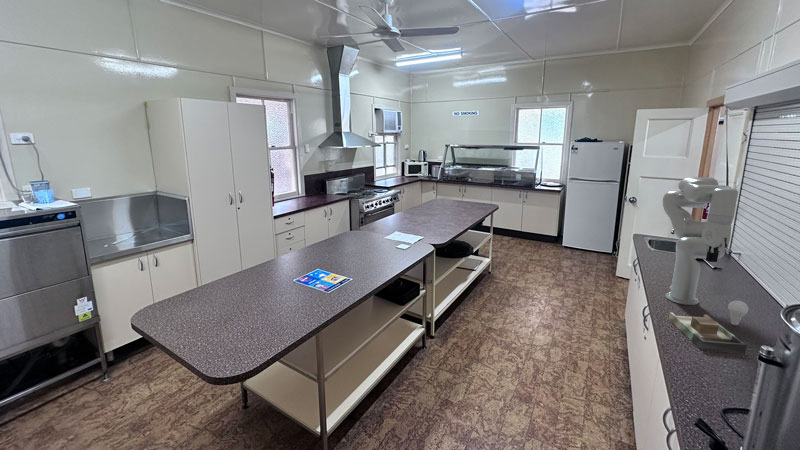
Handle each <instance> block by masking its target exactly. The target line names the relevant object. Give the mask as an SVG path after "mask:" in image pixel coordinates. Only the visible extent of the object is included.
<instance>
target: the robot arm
mask: <svg viewBox="0 0 800 450" xmlns="http://www.w3.org/2000/svg"><path fill="white" fill-rule="evenodd" d="M677 186H678V190H671V191H668V192H666V193H665V194H664V195H663V196H662V206H663V210H664V212H665V214H666V215H667V217H668V218H669V219H670V222H671V224H672V228H673V231H674V235H675V236H676V238H677V240H676V242H675V262H674V269H673V274H672V280H671V285H669V289H670V291H668V292H666V293H665V298H666V299H667V300H669V301H671V302H673V303H677V304H680V305H686V306H696V305H698V304H699V299H698V298H697V297H696V294H697V289H698V284H699V279H700V273H701V265H700V263H699V262H698V260H696V259H705V261H707V262H709V263H717V262H718V259H721V258H723V257H724V256H725V254H726V253H725V252H726V248H728V247H729V245H730V242H731V236H732V233H731V232H732V223H733V219H734V215H735V211H736V207H737V206H736V205H737V202H738V196H739V191H738V190H737V189H736V188H732V187H731V186H729V185H723V184H720V185H719V182H718V181H717V179H716V178H714V177H701V176H700V177H697V176H695V177H694V176H693V177H692V176H690V177H685V178H683V179H681V180H680V181H679V183H678V185H677ZM708 204H709V210H708V215H707V219H706V221H696V220H694V219H693V216H692V214H691V213H690V212H689V211H688V210H686V209H685V208H692V209H693V208H696V209H698V208H704V207H705V206H706V205H708Z"/></svg>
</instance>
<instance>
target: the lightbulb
mask: <svg viewBox="0 0 800 450" xmlns="http://www.w3.org/2000/svg"><path fill="white" fill-rule="evenodd" d="M727 309H728V311H729V314H730V324H731V325H732V326H738V325H740V323H741V320H742V318H743V317H744V316H745V315H747V314H748V312H749V307H748V305H747V304H746V303H745V302H744V301H741V300H731V301H730V302H729V303H728V305H727Z"/></svg>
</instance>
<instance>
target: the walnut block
mask: <svg viewBox="0 0 800 450" xmlns="http://www.w3.org/2000/svg"><path fill="white" fill-rule="evenodd" d="M691 317H692V320H691V326H692V327H693V328H694V329H695V330H696V331H697V332H699V333H704V334H716V335H717V332H718V327H719V325H718V324H716V323H715V322H714V321H713V320H714V319H713V320H711V319H710V318H705V317H704V316H691Z"/></svg>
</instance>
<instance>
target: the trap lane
mask: <svg viewBox="0 0 800 450" xmlns="http://www.w3.org/2000/svg"><path fill="white" fill-rule="evenodd" d="M692 317H693V316H685V315H684V316H682V315H676V313H674V312H669V315H668V320H669V321H670V322H671V323H672V324H673V325H674V326H675V327H676V328H677V329H678V330H679V331H680V332H681V333H683V334H684V335H685V336H686V337H687V338H688V339H689V341H691V342H692V343H693V344H694V346H696V347H698V349H700V350H701V351H708V352H709V351H710V352H723V353H733V354H746V350H747V347H748V345H747V344H746V343H745V342H744V341H742V340H741V339H740V338H738V337H737V336H735V334H733V333H732V332H730V331H729V330H728V329H726V328H725V327H724V326H722V325H721V324H720V323H718V322H717V321H716V320H715V319H713V318H712V317H711V316H709V315H708V314H703V317H705V318H710V319H711V320H713V321H714V322H715V323H716V324H718V325H719V327H718V332H717V335H716V334H704V333H699V332H697V331H696V330H695V329H694V328H693V327H692V326H691V320H692Z"/></svg>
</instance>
